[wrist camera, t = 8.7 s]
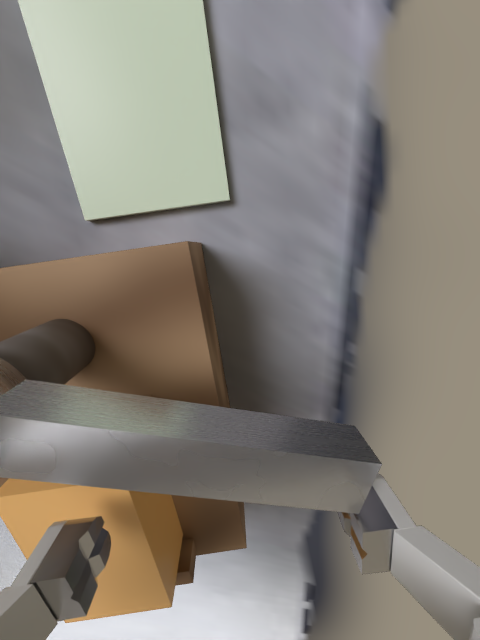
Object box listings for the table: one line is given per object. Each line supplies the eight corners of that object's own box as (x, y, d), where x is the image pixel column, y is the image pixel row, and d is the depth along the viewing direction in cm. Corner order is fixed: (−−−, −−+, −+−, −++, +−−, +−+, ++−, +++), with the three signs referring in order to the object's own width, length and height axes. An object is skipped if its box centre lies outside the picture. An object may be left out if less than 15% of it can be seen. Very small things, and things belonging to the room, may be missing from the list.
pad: (229, 200, 14) (229, 199, 13) (89, 221, 14) (85, 220, 13) (196, -46, 11) (194, -58, 10) (16, -22, 11) (8, -32, 10)
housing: (241, 474, 20) (252, 646, 11) (94, 496, 20) (-7, 685, 11) (201, 242, 14) (162, 238, 6) (-2, 272, 14) (-337, 309, 6)
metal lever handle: (367, 396, 7) (446, 482, 5) (327, 493, 8) (373, 609, 6) (-102, 323, 6) (-366, 384, 3) (-76, 450, 7) (-257, 572, 4)
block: (183, 534, 14) (171, 606, 11) (98, 546, 14) (65, 623, 11) (149, 422, 12) (124, 478, 9) (47, 437, 12) (-11, 498, 9)
